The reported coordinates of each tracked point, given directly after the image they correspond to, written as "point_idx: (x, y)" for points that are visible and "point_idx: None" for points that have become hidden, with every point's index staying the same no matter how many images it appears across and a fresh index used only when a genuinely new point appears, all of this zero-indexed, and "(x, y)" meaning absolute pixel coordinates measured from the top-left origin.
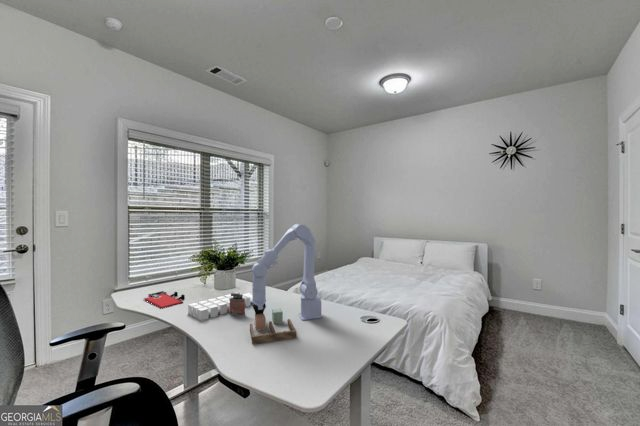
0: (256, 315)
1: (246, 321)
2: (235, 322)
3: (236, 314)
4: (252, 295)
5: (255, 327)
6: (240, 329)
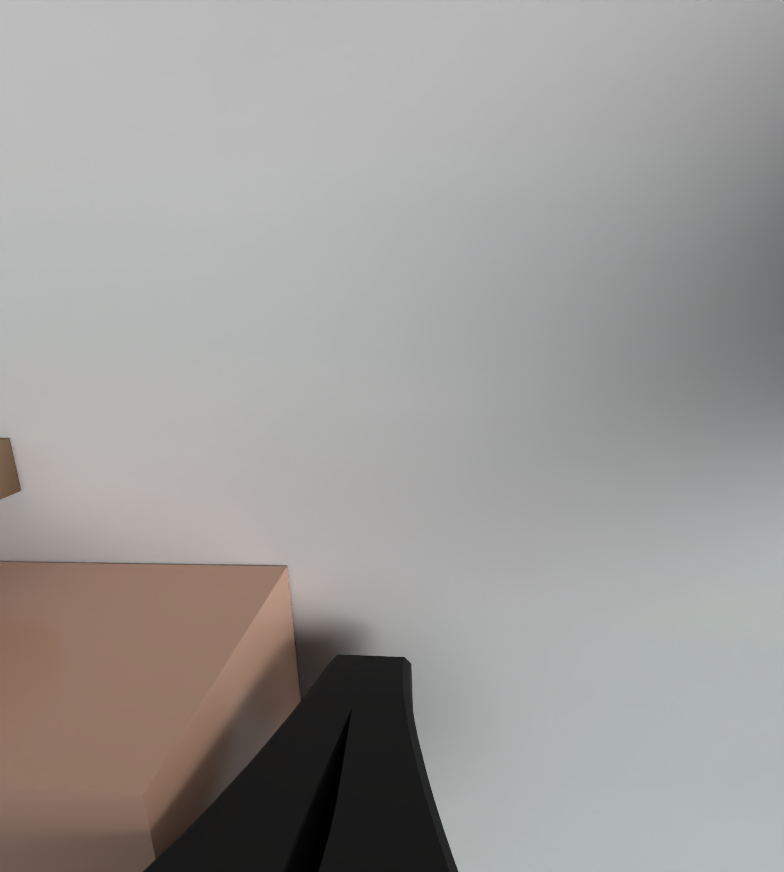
0: (28, 834)
1: (584, 379)
2: (629, 19)
3: None
4: None
5: (94, 569)
6: (70, 211)
